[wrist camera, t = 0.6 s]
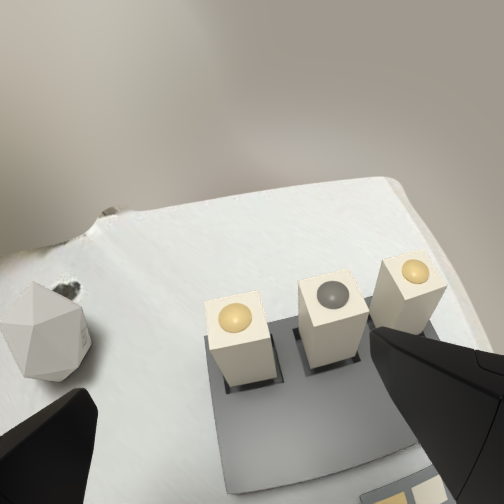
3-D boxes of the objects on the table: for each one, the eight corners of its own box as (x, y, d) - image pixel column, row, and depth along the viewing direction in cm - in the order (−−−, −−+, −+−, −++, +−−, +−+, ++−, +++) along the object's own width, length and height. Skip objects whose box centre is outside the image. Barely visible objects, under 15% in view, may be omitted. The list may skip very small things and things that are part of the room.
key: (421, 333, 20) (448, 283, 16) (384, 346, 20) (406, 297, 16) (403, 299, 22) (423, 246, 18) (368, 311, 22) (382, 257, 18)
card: (486, 486, 13) (488, 486, 12) (373, 544, 12) (373, 545, 12) (472, 442, 16) (473, 441, 16) (359, 495, 15) (360, 495, 15)
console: (455, 423, 17) (472, 412, 15) (235, 494, 17) (227, 494, 15) (401, 305, 26) (409, 284, 24) (213, 353, 25) (204, 336, 23)
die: (116, 383, 25) (90, 275, 23) (30, 415, 18) (-10, 299, 16) (85, 356, 30) (65, 268, 29) (16, 378, 24) (-11, 285, 22)
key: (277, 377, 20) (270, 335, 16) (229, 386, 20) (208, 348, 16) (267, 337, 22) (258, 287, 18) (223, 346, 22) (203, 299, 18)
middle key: (354, 356, 20) (370, 309, 16) (310, 368, 20) (314, 324, 16) (340, 319, 22) (349, 266, 18) (298, 330, 22) (297, 278, 18)
